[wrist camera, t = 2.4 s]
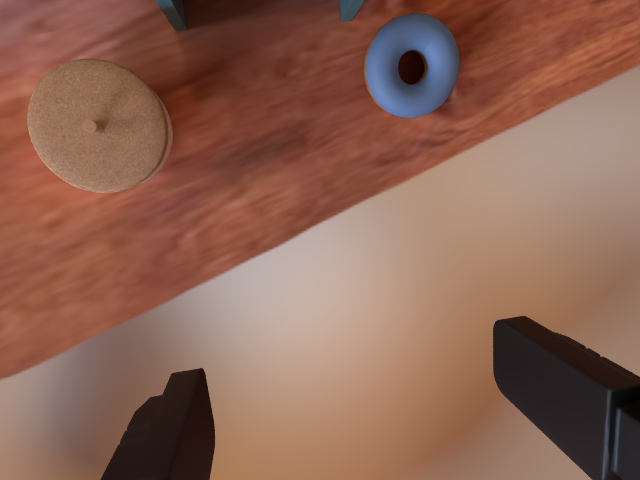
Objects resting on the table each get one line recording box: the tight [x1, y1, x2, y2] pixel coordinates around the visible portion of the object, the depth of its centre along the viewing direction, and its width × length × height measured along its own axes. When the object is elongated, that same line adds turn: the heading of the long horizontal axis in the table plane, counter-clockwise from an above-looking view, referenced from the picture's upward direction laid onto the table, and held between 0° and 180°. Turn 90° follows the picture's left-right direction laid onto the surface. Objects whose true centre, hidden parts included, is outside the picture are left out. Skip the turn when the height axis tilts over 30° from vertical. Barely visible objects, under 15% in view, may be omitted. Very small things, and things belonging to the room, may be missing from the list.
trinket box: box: [28, 59, 173, 193], centre depth 35 cm, size 11×11×9 cm
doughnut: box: [364, 13, 460, 118], centre depth 40 cm, size 10×10×5 cm
